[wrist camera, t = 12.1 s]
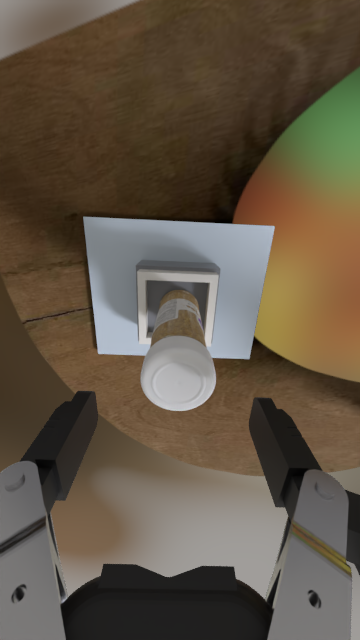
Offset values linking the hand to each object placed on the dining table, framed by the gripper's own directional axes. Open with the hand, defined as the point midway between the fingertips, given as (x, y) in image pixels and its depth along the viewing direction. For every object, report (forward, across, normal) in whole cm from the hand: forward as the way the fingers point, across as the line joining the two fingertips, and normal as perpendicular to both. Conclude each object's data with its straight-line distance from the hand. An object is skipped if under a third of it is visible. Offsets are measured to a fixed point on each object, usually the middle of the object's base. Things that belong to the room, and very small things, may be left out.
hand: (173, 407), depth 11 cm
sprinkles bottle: (+15, 0, 0) cm, 16 cm away
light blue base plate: (+20, 0, 0) cm, 20 cm away
